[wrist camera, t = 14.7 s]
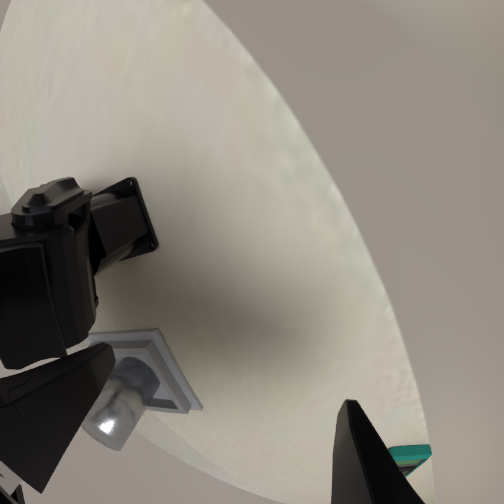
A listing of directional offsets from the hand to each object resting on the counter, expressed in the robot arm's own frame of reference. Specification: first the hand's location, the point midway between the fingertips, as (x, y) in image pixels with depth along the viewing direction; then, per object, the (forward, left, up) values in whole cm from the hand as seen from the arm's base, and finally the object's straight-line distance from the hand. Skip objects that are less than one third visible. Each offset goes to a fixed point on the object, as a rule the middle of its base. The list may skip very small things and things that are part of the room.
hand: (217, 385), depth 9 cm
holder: (+19, +11, -13) cm, 26 cm away
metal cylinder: (+19, +11, -12) cm, 25 cm away
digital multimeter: (-9, +39, -14) cm, 42 cm away
